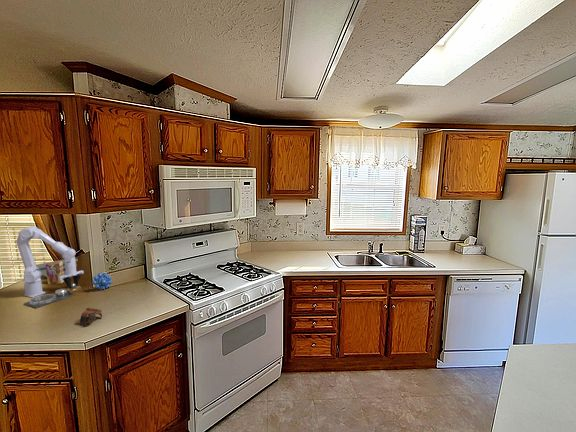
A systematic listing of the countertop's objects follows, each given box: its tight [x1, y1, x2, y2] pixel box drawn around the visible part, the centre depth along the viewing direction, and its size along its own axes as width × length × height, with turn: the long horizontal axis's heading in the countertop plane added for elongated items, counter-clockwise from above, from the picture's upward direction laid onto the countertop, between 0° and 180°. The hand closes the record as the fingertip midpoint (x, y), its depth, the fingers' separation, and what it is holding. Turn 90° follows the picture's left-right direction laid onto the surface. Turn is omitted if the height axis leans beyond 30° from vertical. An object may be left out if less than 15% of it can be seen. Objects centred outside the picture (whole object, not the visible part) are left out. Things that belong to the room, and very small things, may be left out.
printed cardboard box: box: [36, 257, 79, 278], centre depth 223 cm, size 25×8×11 cm, turn 143°
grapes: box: [91, 272, 113, 291], centre depth 193 cm, size 12×7×12 cm, turn 139°
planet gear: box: [66, 282, 82, 293], centre depth 194 cm, size 8×8×4 cm
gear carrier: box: [23, 287, 75, 309], centre depth 178 cm, size 13×20×4 cm, turn 157°
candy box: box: [45, 261, 65, 285], centre depth 207 cm, size 9×4×15 cm, turn 99°
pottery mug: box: [79, 307, 103, 326], centre depth 151 cm, size 12×10×8 cm
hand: (72, 286), depth 194 cm, fingers closed on planet gear, 4 cm apart
